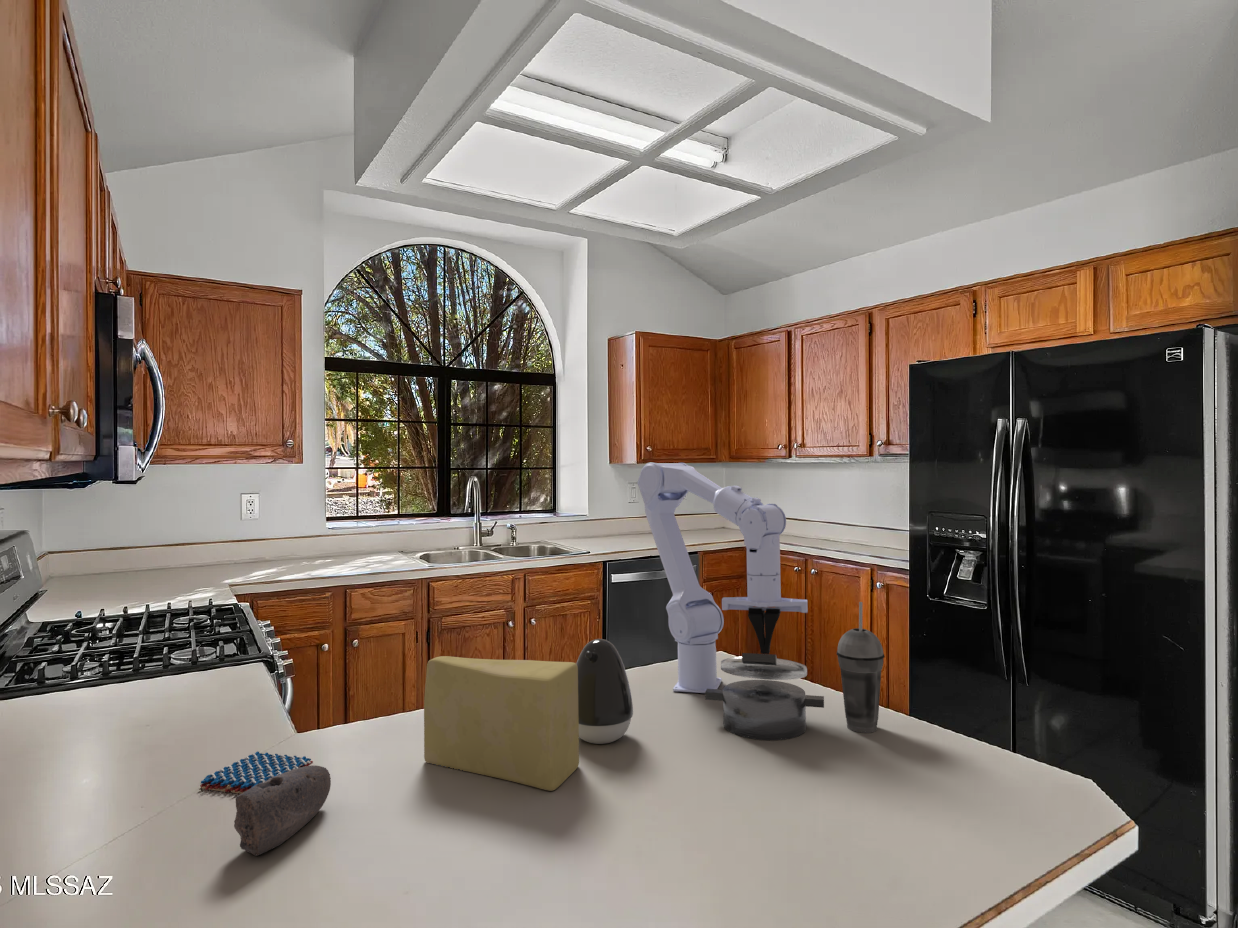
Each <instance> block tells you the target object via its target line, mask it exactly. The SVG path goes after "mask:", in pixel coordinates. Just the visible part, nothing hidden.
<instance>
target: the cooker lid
mask: <svg viewBox="0 0 1238 928" xmlns="http://www.w3.org/2000/svg"><path fill="white" fill-rule="evenodd" d="M720 670H721V671H722V672H724V673H726V674H729V675H732V676H737V677H741V678H748V679H750V678H751V679H754V680H772V681H788V680H789V681H791V680H798V679H803V678H806V677H807V675H808V668H807V666H806V665H805V664H802V663H800V662H797V661H794V660H793V661H792V660H788V659H783V658H777V654H770V653H769V654H761V653H749V652H742V654H741V656H737V657H736V656H734V657H728V658H724V659H722V660H721V661H720Z"/></svg>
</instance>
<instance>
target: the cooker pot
mask: <svg viewBox="0 0 1238 928" xmlns="http://www.w3.org/2000/svg"><path fill="white" fill-rule="evenodd" d="M704 694H705V695H704V697H705V698H704V700H708V701H719V702H722V709H723V714H722V716H723V717H722V718H723V727H724V729H726V731H728V732H729V733H731V734H734V735H736V736H739V737H743V738H747V739H752V740H759V741H760V740H761V741H762V740H763V741H779V740H780V741H782V740H789V739H794V738H797V737H800V736H801V735H803V734H804V733H805V732H806V730H807V708H806V707H809V708H825V696H824V695H810V694H806V691H805V690H804V689H803V688H802V687H800V686H799V685H795V684H792V683H789V682H785V681H781V680H766V679H747V680H739V681H734V682H731V683H728V684H726V685H725V686H723V689H719V688H718V689H707V690H706V692H705V693H704Z"/></svg>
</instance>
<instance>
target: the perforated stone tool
mask: <svg viewBox="0 0 1238 928" xmlns="http://www.w3.org/2000/svg"><path fill="white" fill-rule="evenodd" d="M331 786H332V784H331V774H330V772H329V770H328V769H327V767H324V766H320V765H309V766H305V767H300V768H297V769H293V770H290V771H288V772H285V773H282V774H280V775H278V776H274V777H272V778H270V779H268V780H267V781H265V782H262V783H259V784H257V785H255V786H254V787H252V788H250V789H249V790H247V791H245V792H244V793H242V794H241V793H239V794H238V795H237V796H236V797H235V808H236V809H235V810H236V812H235V814H236V815H235V819H234V823H233V827H234V829H235V831H236V832H237V833H238V835H239V837H240V843H239V847H240V849H241V850H245V852H247V853H248V854H249V853H250V854H252V855H254V856H256V857H257V856H260V855H262V854H264V853H266V852H267V853H268V851H271V850H272V849H275V848H277V847H279V846H280V845H282V844H284V843H285V841H287V840H289V839H290V838H292V837H293V836H294V835H295V834H296V833H297V832H299V831H300V830H301V829H302V828H304V827H305V826H306V825H307V824H308V823H309V822H310V821H311V820H312V819H314V817H315V816H316V815H317V814H318V813H319V812H320V810H321V809H322V807H323V806H324V804H325V802H326V800H327V799H328V796H329V793H330V790H331Z"/></svg>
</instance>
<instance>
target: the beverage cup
mask: <svg viewBox="0 0 1238 928" xmlns="http://www.w3.org/2000/svg"><path fill="white" fill-rule="evenodd" d="M858 606H859V607H858V613H859V614H858V627H857V628H856V627H855V628H852V629H849V630H847V631H846V632H845V633H844V634H842V635H841V637H840V638H839V641H838V643H837V644H838V645H837V650H836V655H837V661H838V667H839V668H840V675H841V676H840V678H841V686H842V687H841V688H842V695H843V704H844V713H845V719H846V720H845V721H846V727H847V729H849V730H850V731H853V732H857V733H863V734H867V733H868V734H869V733H874V732H876V731H877V730H878V722H879V721H878V720H879V711H880V710H879V709H880V695H881V680H882V670H883V667H884V658H886V657H885V654H884V648H883V646H882V642H881V641H880V639H879V638H878V637H877V635H876V634H875V633H873V632H872V631H870V630H868V629H865V628H863V602H862V601H859V602H858Z"/></svg>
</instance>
